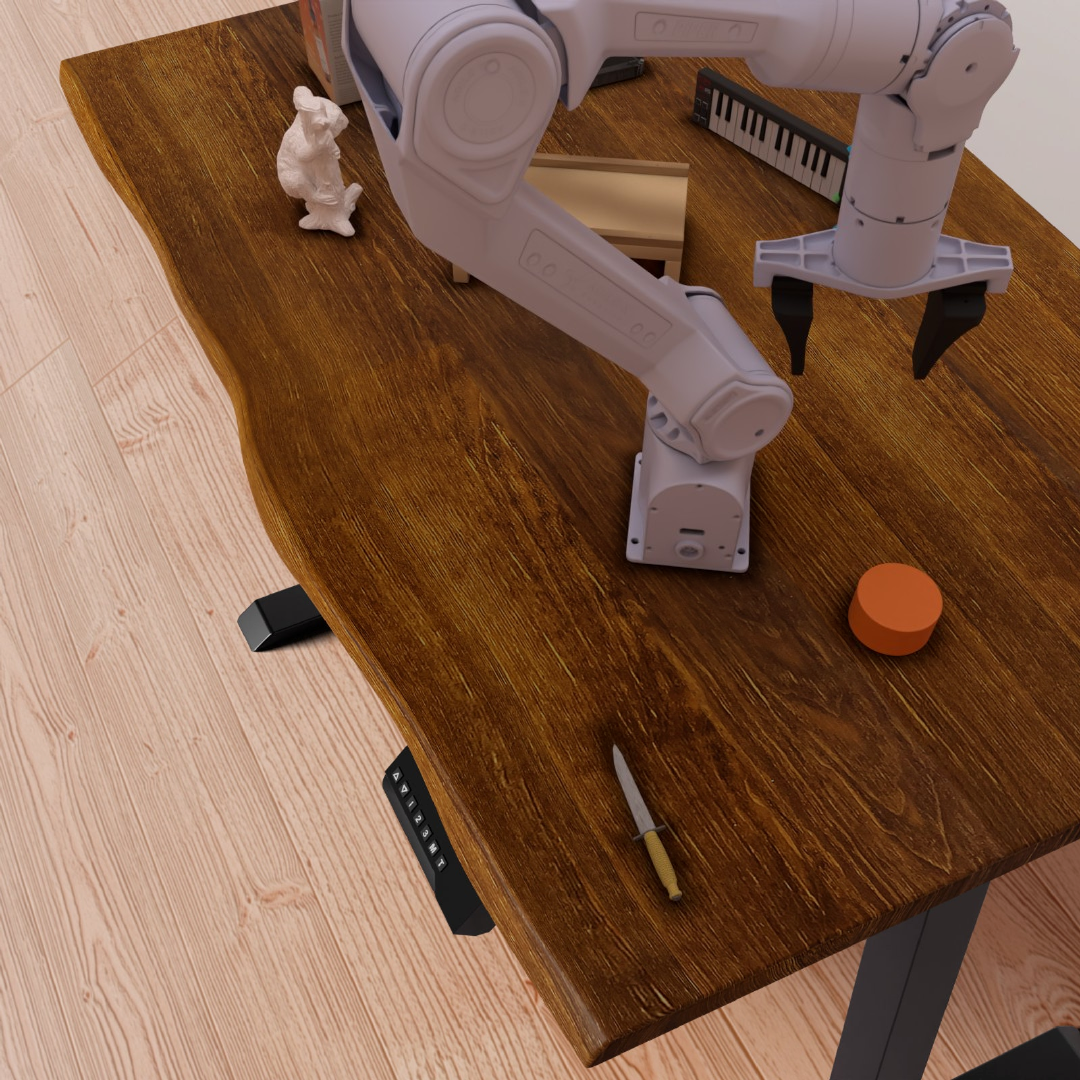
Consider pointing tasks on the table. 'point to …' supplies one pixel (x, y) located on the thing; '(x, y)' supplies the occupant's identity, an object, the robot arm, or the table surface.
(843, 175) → the midi keyboard
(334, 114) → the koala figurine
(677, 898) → the dagger
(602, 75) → the phone
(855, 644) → the table surface
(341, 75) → the small box
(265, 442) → the table surface
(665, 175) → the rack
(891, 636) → the disc
